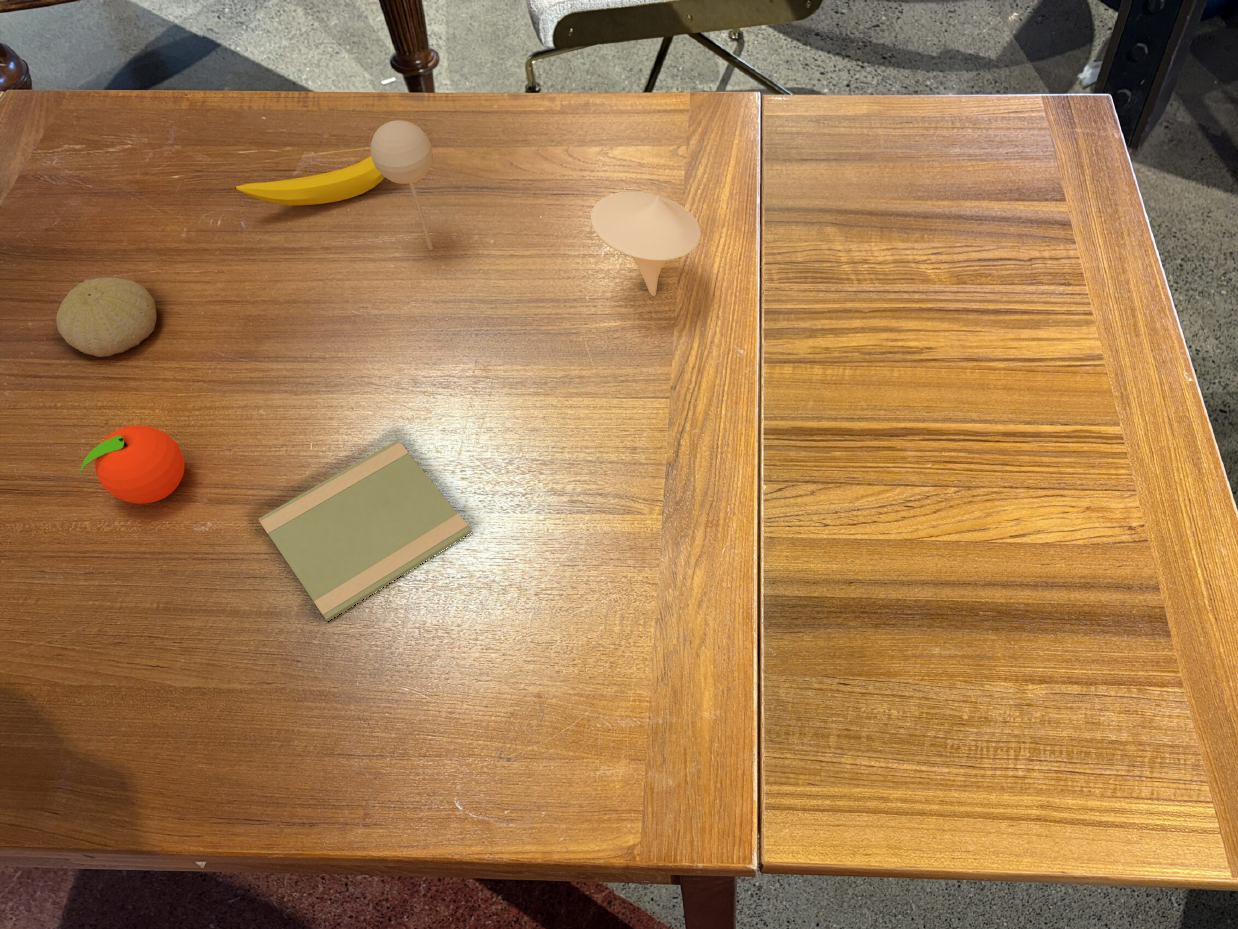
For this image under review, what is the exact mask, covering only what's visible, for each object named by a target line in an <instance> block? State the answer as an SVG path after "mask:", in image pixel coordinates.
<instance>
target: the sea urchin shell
mask: <svg viewBox="0 0 1238 929" xmlns="http://www.w3.org/2000/svg"><path fill="white" fill-rule="evenodd" d="M156 305H157V304H156V303H155V299H154V298H153V297H152V295H151V294H150V292H149V291H148V290H147V289H146V288H145V286H144V285H141V284H140V283H138V282H136V281H135V280H131V279H128V278H121V277H120V278H119V277H96V278H91V279H85V280H84V281H82V282H79V283H78V284H77V285H76V286H75V287H73V288H72V289H70V290H69V292H68V293H67V295H66V296H65V298H63V300H62V301H61V302H60V305H59V308H58V310H57V312H56V316H55V322H56V327H57V331H58V333H59V334H60V336H61V337H62V338H63V339H64V341H65V343H67V344H68V345H69V346H70V347H72V348H74V349H76V350H78V351H79V352H82V353H83V354H87V355H91V356H94V357H97V358H98V357H99V358H101V357H102V358H104V357H105V358H106V357H111V356H114V355H116V354H120V353H125V352H126V351H128V350H130V349H131V348H135V347H136V346H138V345H140V344H141V342H143V341H144V340H146V339H147V338H149V336H150V335H151V334H152V333H153V332H154V331H155V326H156V322H157V319H158V318H157V316H158V314H157V307H156Z"/></svg>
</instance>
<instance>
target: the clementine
mask: <svg viewBox="0 0 1238 929" xmlns="http://www.w3.org/2000/svg"><path fill="white" fill-rule="evenodd" d="M93 460H94V468H95V474H96V477H97V478H98V481H99V482H100V484H101V485H102V487H103V488H104V489H105V490H106V491H107V492H109V493H110V494H111V495H112V496H113V497H115V499H119V500H121V501H124V502H126V503H130V504H135V505H136V504H138V505H142V504H151V503H156V502H158V501H161V500H164V499H165V498H167V497H168V496H170V495H171V494H172V493H173V492H174V491H175V490H176V489H177V488H178V486H179V485H180V482H181V481H182V480H183V477H184V472H185V459H184V455H183V452H182V450H181V448H180V446H179V444H178V443H177V441H176V440H174V439H173V438H172V437H171V436H170V435H169V434H167V433H166V432H165V431H162V430H160V429H159V428H155V427H154V426H150V425H142V424H141V425H138V424H133V425H127V426H123V427H120V428H118V429H116V430H113V431H112V432H111V433H110V434H108V435H106V437H105V438H104V439H103V440H102V441H101V442H100V444H98V445H97V446H95V447H94V448H93V449H91V451H90V452H89V453H88V454H87V456H86V457H85V458H84V460H82V464H81V467H80V475H81V477H80V478H81V479H83V470H84V469H85V467H86V466H87V465H89V464H90V463H91V462H92V461H93Z"/></svg>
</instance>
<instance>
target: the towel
mask: <svg viewBox="0 0 1238 929" xmlns="http://www.w3.org/2000/svg"><path fill="white" fill-rule="evenodd" d="M257 520H258V522H259V523H260V525H261V526H262V528H263V529H264V531H265V532H266V533H267V535H268V536H269V538H270V540H271V541H272V542H273V544H274V545H275V547H276V548H277V550H278V551H279V553H280V555H281V556H282V557H283V559H284V560H285V561H286V564H288V566H289V568H290V569H291V571H292V572H293V573H294V575H295V576H296V578H297V579H298V581H299V583H300V584H301V585H302V587H303V588H304V589H305V591H306V593H307V594H308V596H309V597H310V598H311V600H312V602H313V603H314V605H315V606H316V607H317V609H318V610H319V612H320V614H321V615H322V616H323V618H324V619H325V620H326V622H327V621H329V620H331V619H333V618H334V617H336V616H338V615H339V614H341V613H342V612H344V611H346V610H347V609H349V608H350V607H352V606H354V605H355V604H357V603H359V602H360V601H362V600H363V599H365V598H367V597H368V596H370V595H371V594H373V593H375V592H376V591H378V590H379V589H381V588H383V587H384V586H386V585H388V584H389V583H391V582H392V581H394V580H396V579H397V578H399V577H400V576H402V575H404V574H405V573H407V572H409V571H410V570H412V569H413V568H415V567H417V566H418V565H420V564H421V563H423V562H425V561H426V560H428V559H429V558H431V557H433V556H434V555H436V554H438V553H439V552H441V551H442V550H444V549H446V548H447V547H449V546H450V545H452V544H454V543H455V542H457V541H459V540H460V539H462V538H463V537H465V536H467V535H468V534H470V533H471V532H472V533H473V531H472V529H471V528H470V526H469V524H468V523H467V522H466V521H465V520H464V518H463V517H462V516H461V515H460V514H459V513H458V512H457V510H456V509H455V508H454V507H453V506H452V504H450V502H449V501H448V499H447V498H446V497H445V496H444V495H443V493H442V492H441V491H440V490H439V488H438V487H437V486H436V485H435V484H434V483H433V481H432V480H431V479H430V477H429V476H428V475H427V474H426V473H425V472H424V470H423V469H422V468H421V466H420V465H419V464H418V463H417V462H416V460H415V459H414V457H412V455H410V452H409V451H408V450H407V449H406V448H405V446H404V445H403V444H402V442H400V441H399V440H398V439H397V440H395V441H393V442H391V443H389V444H387V445H386V446H383V447H382V448H380V449H379V450H377V451H375V452H373V453H371V454H370V455H368V456H366V457H365V458H362V459H361V460H359V461H358V462H356V463H353V464H352V465H350V466H349V467H347V468H345V469H343V470H342V471H340V472H338V473H336V474H334V475H333V476H331V477H329V478H327V479H326V480H324V481H322V482H320V483H318V484H317V485H315V486H312V488H310V489H307V490H306V491H304V492H302V493H301V494H299V495H297V496H295V497H294V498H292V499H290V500H289V501H287V502H285V503H284V504H282V505H280V506H278V507H276V508H275V509H273V510H271V511H270V512H269V511H268V512H267V513H266V514H264V515H262V516H260V517H259V518H258V519H257ZM470 535H471V534H470ZM468 536H469V535H468ZM468 536H467V537H468ZM465 538H466V537H465ZM462 540H463V539H462ZM460 541H461V540H460ZM460 541H459V542H460ZM457 543H458V542H457ZM454 545H455V544H454ZM452 546H453V545H452ZM449 548H450V547H449ZM447 549H448V548H447ZM447 549H446V550H447ZM444 551H445V550H444ZM441 553H442V552H441ZM439 554H440V553H439ZM439 554H438V555H439ZM436 556H437V555H436ZM433 558H434V557H433ZM431 559H432V558H431ZM428 561H429V560H428ZM426 562H427V561H426ZM426 562H425V563H426ZM423 564H424V563H423ZM420 566H421V565H420ZM418 567H419V566H418ZM418 567H417V568H418ZM415 569H416V568H415ZM412 571H413V570H412ZM410 572H411V571H410ZM410 572H409V573H410ZM407 574H408V573H407ZM404 576H405V575H404ZM402 577H403V576H402ZM399 579H400V578H399ZM397 580H398V579H397ZM397 580H396V581H397ZM394 582H395V581H394ZM391 584H392V583H391ZM389 585H390V584H389ZM389 585H388V586H389ZM386 587H387V586H386ZM383 589H384V588H383ZM381 590H382V589H381ZM378 592H379V591H378ZM375 594H376V593H375ZM373 595H374V594H373ZM370 597H371V596H370ZM368 598H369V597H368ZM368 598H367V599H368ZM365 600H366V599H365ZM362 602H363V601H362ZM360 603H361V602H360ZM360 603H359V604H360ZM357 605H358V604H357ZM354 607H355V606H354ZM352 608H353V607H352ZM349 610H350V609H349ZM347 611H348V610H347ZM347 611H346V612H347ZM344 613H345V612H344ZM341 615H342V614H341ZM339 616H340V615H339ZM339 616H338V617H339ZM336 618H337V617H336ZM333 620H334V619H333ZM331 621H332V620H331Z"/></svg>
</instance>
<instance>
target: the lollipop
mask: <svg viewBox="0 0 1238 929" xmlns="http://www.w3.org/2000/svg"><path fill="white" fill-rule="evenodd" d="M370 156H372V160H373V163H374V165H375V167H376V168H377V170H378V171H379V172H380V173H381V174H382V175H383V176H384V177H385V178H386V179H387V180H389V181H391V182H392V183H396V184H400V185H409V188H410V192H411V195H412V198H413V202H414V205H415V208H416V211H417V215H418V218H419V221H420V225H421V228H422V232H423V234H424V238H425V241H426V244H427V248H428V250H429V251H433V250H434V247H433V243H432V240H431V237H430V234H429V229H428V226H427V224H426V220H425V216H424V213H423V210H422V206H421V203H420V201H419V200H420V199H419V195H418V193H417V190H416V186H415V183H417V182H419V181H421V180H422V179H423V178H425V176H426V175H427V174H428V172H429V171H430V169H431V167H432V164H433V157H434V151H433V146H432V142H431V141H430V139H429V137H428V135H427V134H426V132H424V131H423V129H422V128H420V127H419V126H418V125H416V124H414V123H412V122H410V121H407V120H401V119H396V120H391V121H388V122H385V123H384V124H382V125H381V126H380V127H378V128H377V130H376V131H375V133H374V134H373V136H372V139H371V142H370ZM385 178H384V179H385Z"/></svg>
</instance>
